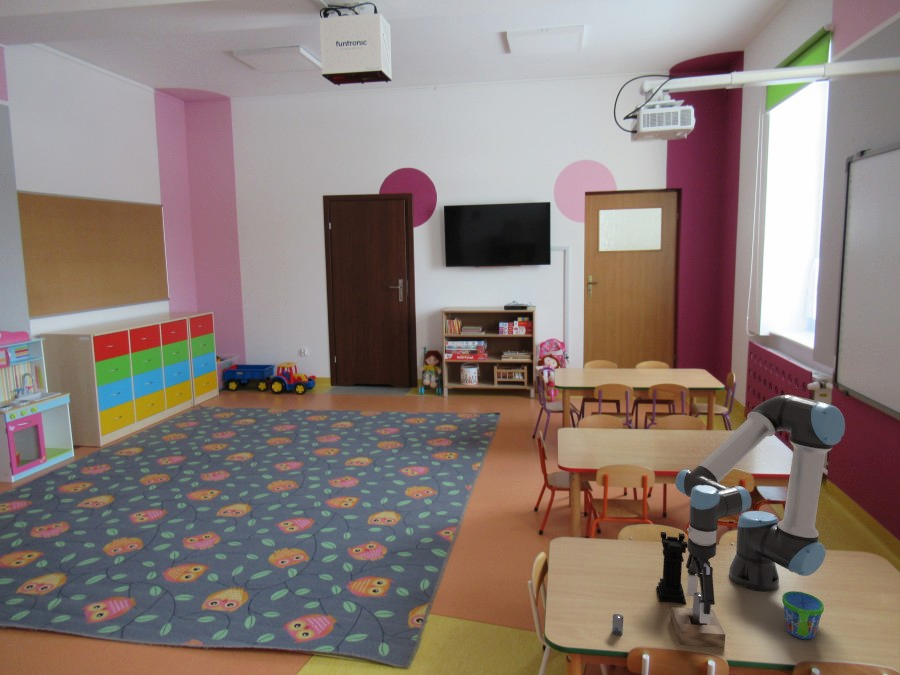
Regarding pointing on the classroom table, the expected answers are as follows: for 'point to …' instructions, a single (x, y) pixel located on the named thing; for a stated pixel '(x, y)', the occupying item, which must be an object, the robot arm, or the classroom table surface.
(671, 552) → the chess piece
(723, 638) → the hole block
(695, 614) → the long pin
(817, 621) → the snack cup
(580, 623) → the classroom table surface
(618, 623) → the short pin
